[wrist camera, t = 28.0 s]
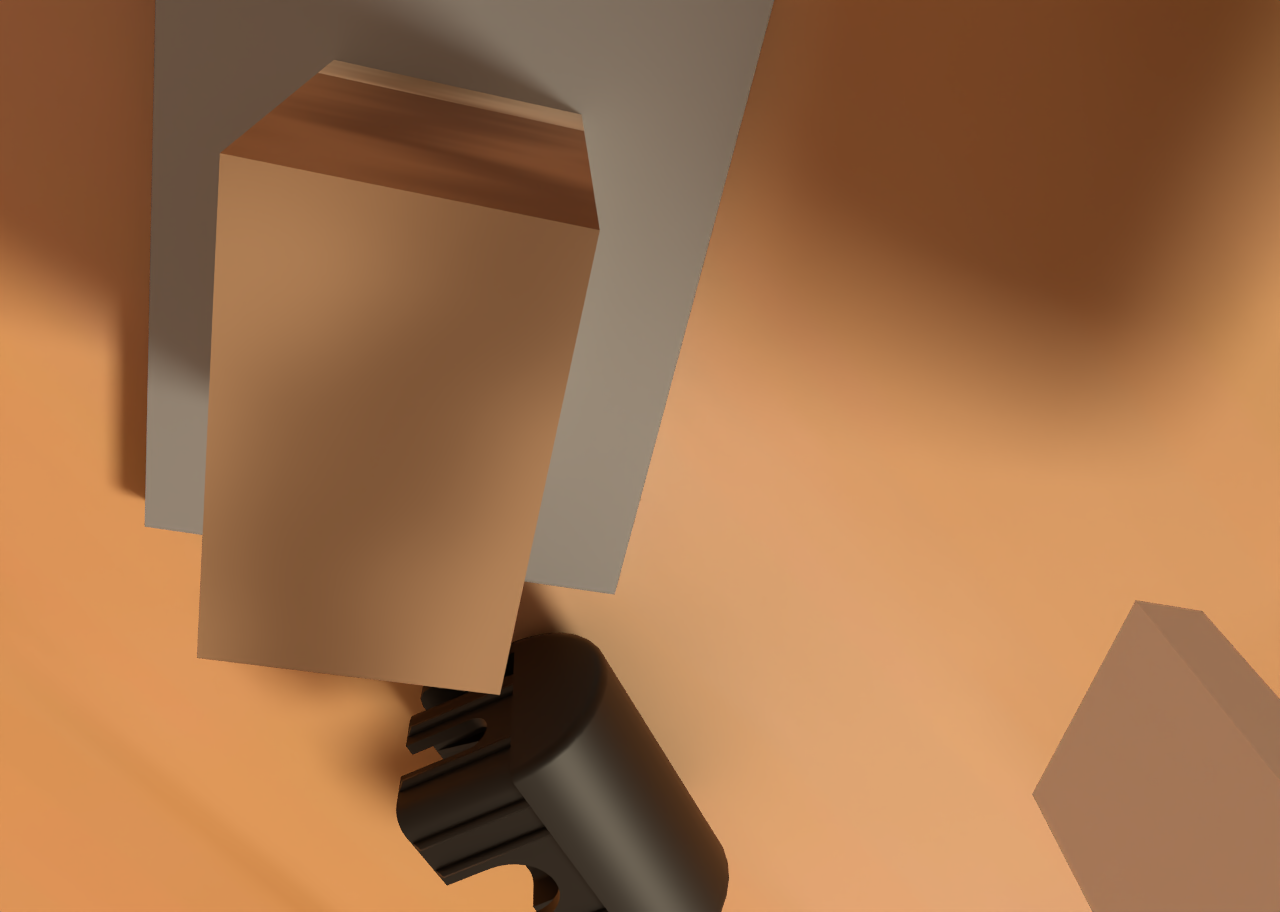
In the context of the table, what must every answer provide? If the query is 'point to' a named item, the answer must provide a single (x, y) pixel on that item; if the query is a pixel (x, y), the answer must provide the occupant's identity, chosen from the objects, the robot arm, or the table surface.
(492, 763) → the end cap
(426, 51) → the gray board
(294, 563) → the walnut box
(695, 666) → the table surface
